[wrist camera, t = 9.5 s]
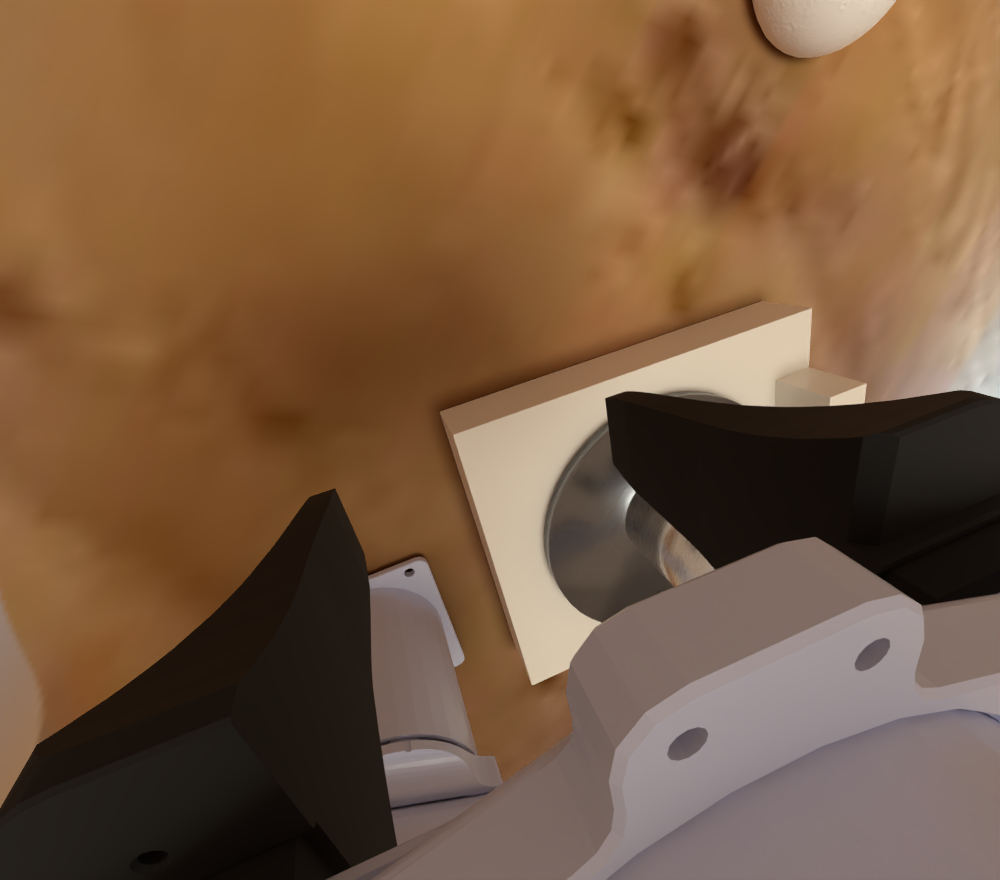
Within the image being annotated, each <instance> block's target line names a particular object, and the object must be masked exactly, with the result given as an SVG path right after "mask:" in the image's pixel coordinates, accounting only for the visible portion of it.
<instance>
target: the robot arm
mask: <svg viewBox="0 0 1000 880" xmlns="http://www.w3.org/2000/svg"><path fill="white" fill-rule="evenodd" d="M605 403H606V411H607V419H608V428H609V436H610V444H611V452H612V461H613V464H614V466H615V467H616V468H617V470H618V471H619V472H620V474H621V475H622V476H623V478H624V479H625V480H626V481H627V483H628V484H629V485H630V486H631V487H632V489H633V490H634V491H635V492H636V493H637V494H638V495H639V496H640V497H642V498H643V499H644V500H645V501H646V502H647V503H648V504H649V505H650V506H651V507H652V508H653V509H654V510H655V511H657V512H658V513H659V514H660V515H661V516H662V517H663V518H664V519H665V520H666V521H667V522H668V523H670V524H671V525H672V526H673V527H674V528H675V529H676V530H677V531H678V532H679V533H680V534H681V535H683V536H684V537H685V538H686V539H687V540H688V541H689V542H690V543H691V544H692V545H693V546H694V547H695V548H696V549H697V550H698V551H699V552H700V553H701V554H702V555H703V557H704V558H705V559H706V560H707V561H708V562H709V564H710V565H711V566H712V567H713V568H714V569H715V570H714V571H711V572H709V573H706V574H704V575H702V576H699V577H697V578H694V579H692V580H690V581H687V582H685V583H683V584H680V585H678V586H675V587H673V588H671V589H668V590H666V591H663V592H661V593H659V594H656V595H654V596H651V597H649V598H647V599H644V600H642V601H640V602H637V603H635V604H632V605H630V606H628V607H626V608H624V609H623V610H621V611H620V612H618V613H616V614H615V615H613V616H612V617H610V618H609V619H607V620H606V621H604V622H603V623H601V624H600V625H598V626H596V627H595V628H594V629H593V631H592V632H591V633H590V635H589V636H588V637H587V639H586V640H585V641H584V643H583V644H582V645H581V647H580V648H579V650H578V651H577V652H576V654H575V655H574V656H573V658H572V660H571V662H570V667H569V675H568V682H567V689H566V695H567V699H568V703H569V708H570V712H571V716H572V723H573V732H571V733H570V734H569V735H567V736H566V737H565V738H563V739H562V740H560V741H559V742H558V743H556V744H555V745H554V746H552V747H551V748H550V749H548V750H547V751H545V752H544V753H543V754H541V755H540V756H539V757H537V758H536V759H535V760H533V761H532V762H530V763H529V764H528V765H526V766H525V767H524V768H522V769H521V770H520V771H518V772H517V773H515V774H514V775H513V776H511V777H510V778H509V779H507V780H506V781H505V782H502V779H501V775H500V772H499V769H498V765H497V762H496V759H495V757H494V756H478V753H477V750H476V746H475V742H474V739H473V735H472V731H471V728H470V724H469V720H468V717H467V713H466V709H465V706H464V702H463V698H462V695H461V691H460V687H459V683H458V680H457V676H456V672H455V669H454V667H456V666H458V665H460V664H461V663H462V662H463V661H464V653H463V651H462V648H461V645H460V643H459V640H458V638H457V635H456V633H455V630H454V628H453V625H452V623H451V620H450V618H449V615H448V613H447V610H446V608H445V605H444V603H443V600H442V598H441V595H440V593H439V590H438V587H437V585H436V582H435V580H434V577H433V575H432V572H431V570H430V567H429V565H428V562H427V560H426V559H425V558H423V557H415V558H412V559H410V560H407V561H405V562H402V563H400V564H397V565H395V566H392V567H390V568H387V569H384V570H382V571H379V572H377V573H374V574H372V575H369V576H368V572H367V567H366V561H365V555H364V552H363V550H362V547H361V545H360V543H359V541H358V539H357V536H356V534H355V532H354V530H353V527H352V525H351V523H350V521H349V518H348V516H347V514H346V512H345V509H344V507H343V505H342V503H341V501H340V498H339V496H338V494H337V492H336V489H332V490H329V491H326V492H323V493H320V494H317V495H314V496H311V497H309V498H308V500H307V501H306V502H305V503H304V505H303V506H302V507H301V509H300V510H299V512H298V513H297V514H296V516H295V517H294V519H293V520H292V521H291V523H290V524H289V526H288V527H287V528H286V530H285V531H284V533H283V534H282V535H281V537H280V538H279V539H278V541H277V542H276V544H275V545H274V546H273V547H272V549H271V550H270V551H269V552H268V554H267V555H266V556H265V557H264V559H263V560H262V561H261V562H260V564H259V565H258V566H257V567H256V568H255V570H254V571H253V572H252V573H251V575H250V576H249V577H248V578H247V579H246V580H245V581H244V583H243V584H242V585H241V586H240V587H239V588H238V589H237V590H236V591H235V592H234V593H233V594H232V595H231V596H230V597H229V598H228V599H227V600H226V601H225V602H224V603H223V604H222V605H221V606H220V608H219V609H218V610H216V611H215V612H214V613H213V614H212V615H211V616H210V617H209V618H208V619H207V620H206V621H204V622H203V623H202V624H201V625H200V626H199V627H198V628H197V629H195V630H194V631H193V632H192V633H191V634H190V635H189V636H187V637H186V638H185V639H184V640H183V641H182V642H181V643H179V644H178V645H177V646H176V647H175V648H174V649H172V650H171V651H170V652H169V653H168V654H166V655H165V656H164V657H162V658H161V659H160V660H159V661H157V662H156V663H155V664H154V665H152V666H151V667H150V668H149V669H147V670H146V671H145V672H143V673H142V674H140V675H139V676H138V677H136V678H135V679H134V680H132V681H131V682H130V683H128V684H127V685H126V686H124V687H123V688H122V689H120V690H119V691H117V692H116V693H115V694H113V695H112V696H110V697H109V698H107V699H106V700H105V701H103V702H102V703H100V704H99V705H97V706H95V707H94V708H92V709H91V710H89V711H88V712H86V713H85V714H83V715H82V716H80V717H79V718H77V719H76V720H74V721H73V722H71V723H70V724H68V725H67V726H65V727H64V728H62V729H61V730H59V731H58V732H56V733H55V734H53V735H52V736H50V737H49V738H47V739H45V740H44V741H42V742H41V743H39V744H37V745H36V747H35V749H34V751H33V752H32V754H31V756H30V758H29V760H28V761H27V763H26V765H25V767H24V768H23V770H22V772H21V773H20V775H19V777H18V778H17V780H16V782H15V784H14V785H13V787H12V789H11V791H10V792H9V794H8V796H7V798H6V799H5V801H4V803H3V804H2V806H1V808H0V880H1000V399H999V398H995V397H991V396H987V395H984V394H980V393H976V392H972V391H962V390H959V391H952V392H945V393H939V394H932V395H926V396H919V397H913V398H906V399H900V400H892V401H882V402H872V403H863V404H851V405H837V406H811V407H773V406H749V405H736V404H727V403H717V402H709V401H701V400H694V399H687V398H680V397H674V396H667V395H661V394H654V393H646V392H636V391H625V392H622V393H619V394H616V395H613V396H610V397H607V398H605ZM409 568H411V569H413V570H412V571H411V572H405V570H407V569H409Z"/></svg>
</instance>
